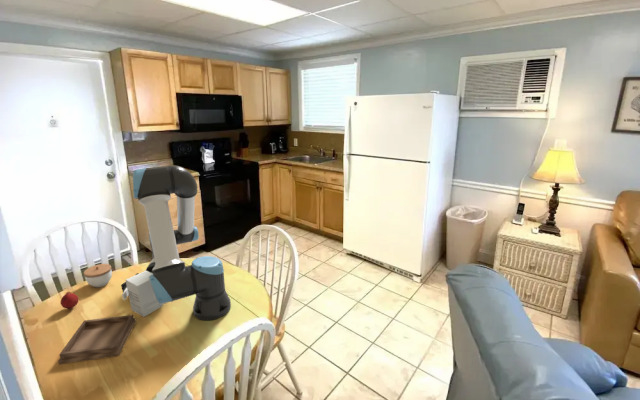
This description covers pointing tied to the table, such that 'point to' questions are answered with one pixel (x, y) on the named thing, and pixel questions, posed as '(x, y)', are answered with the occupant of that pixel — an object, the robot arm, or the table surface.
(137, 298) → the supplement box
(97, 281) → the lidded jar
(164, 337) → the table surface
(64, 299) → the onion
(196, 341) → the table surface
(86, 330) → the walnut stand
